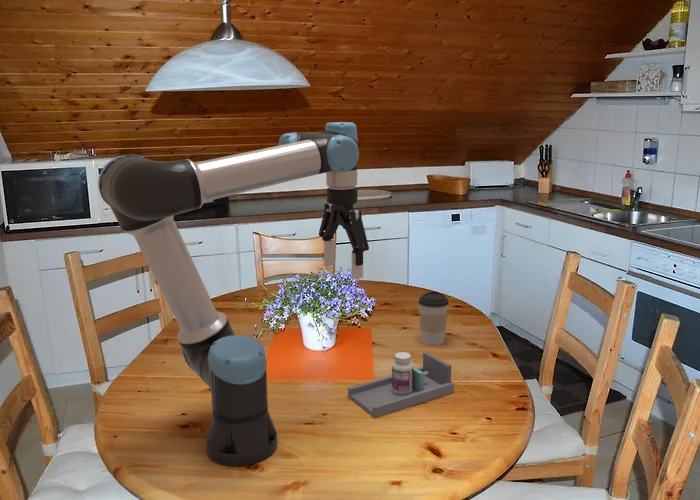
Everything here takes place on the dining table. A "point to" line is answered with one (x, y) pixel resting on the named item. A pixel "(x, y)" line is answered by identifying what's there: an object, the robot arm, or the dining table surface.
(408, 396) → the lane
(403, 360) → the pill bottle
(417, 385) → the pusher
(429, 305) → the coffee cup
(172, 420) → the dining table surface
